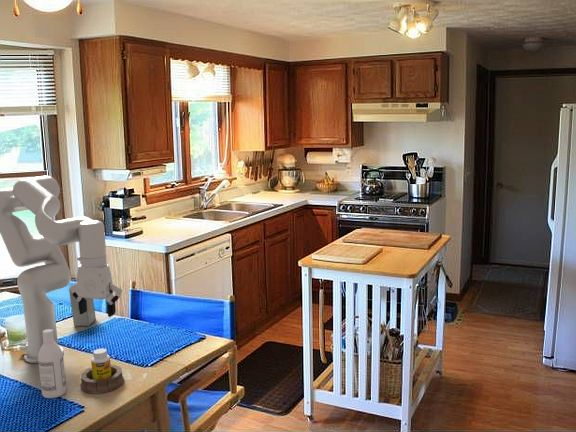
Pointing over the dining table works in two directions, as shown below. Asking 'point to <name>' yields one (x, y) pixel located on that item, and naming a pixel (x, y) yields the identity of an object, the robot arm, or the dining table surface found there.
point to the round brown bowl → (101, 381)
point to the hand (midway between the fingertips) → (97, 314)
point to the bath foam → (51, 367)
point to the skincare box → (86, 317)
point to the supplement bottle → (101, 364)
